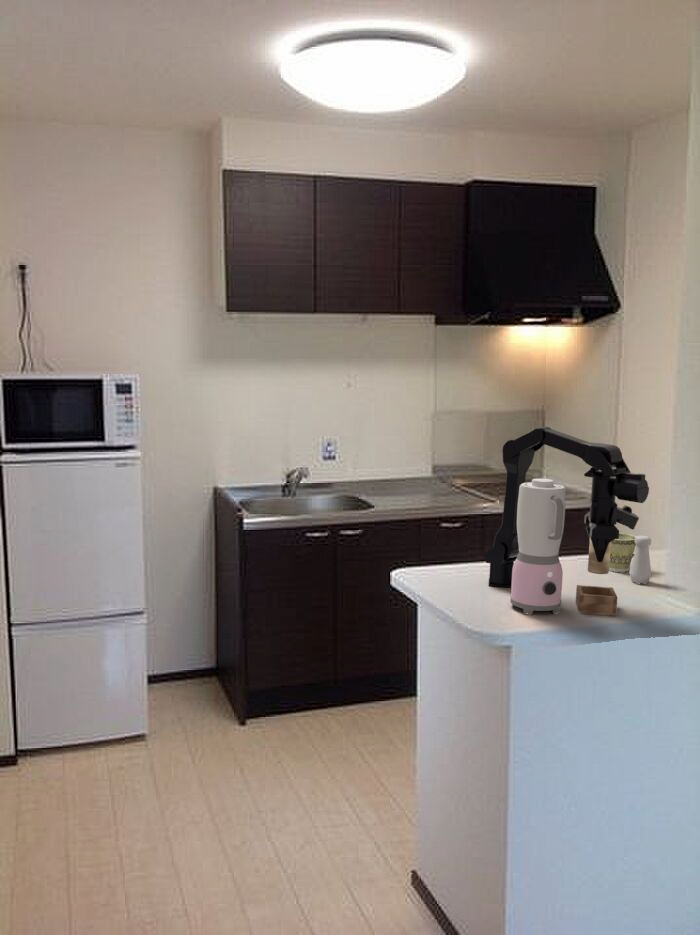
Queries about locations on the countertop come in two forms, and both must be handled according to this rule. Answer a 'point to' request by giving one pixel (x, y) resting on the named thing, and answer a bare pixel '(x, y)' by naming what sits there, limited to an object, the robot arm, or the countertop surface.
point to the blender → (539, 547)
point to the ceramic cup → (622, 552)
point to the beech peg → (598, 566)
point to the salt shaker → (641, 561)
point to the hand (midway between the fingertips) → (598, 559)
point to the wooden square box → (596, 600)
